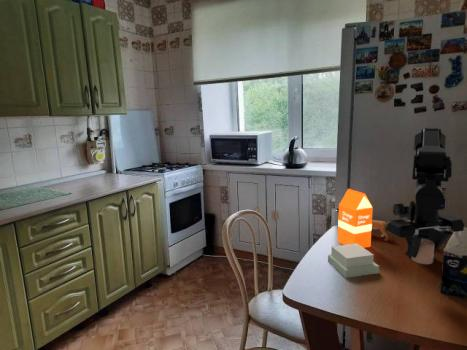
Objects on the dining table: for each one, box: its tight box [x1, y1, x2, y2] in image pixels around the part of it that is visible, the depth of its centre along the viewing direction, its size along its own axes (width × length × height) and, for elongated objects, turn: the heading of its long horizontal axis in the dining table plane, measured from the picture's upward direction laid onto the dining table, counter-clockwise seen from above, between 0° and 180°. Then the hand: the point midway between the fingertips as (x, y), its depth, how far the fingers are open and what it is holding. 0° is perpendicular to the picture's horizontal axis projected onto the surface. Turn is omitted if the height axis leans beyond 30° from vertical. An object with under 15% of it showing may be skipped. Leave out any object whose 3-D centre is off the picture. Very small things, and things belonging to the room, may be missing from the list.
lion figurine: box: [372, 218, 395, 242], centre depth 129 cm, size 15×5×9 cm, turn 52°
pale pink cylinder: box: [411, 239, 435, 265], centre depth 89 cm, size 5×5×5 cm
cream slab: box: [330, 244, 375, 268], centre depth 105 cm, size 9×9×3 cm
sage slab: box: [327, 254, 380, 279], centre depth 106 cm, size 11×11×3 cm
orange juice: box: [337, 188, 374, 249], centre depth 121 cm, size 8×9×20 cm
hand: (422, 256), depth 89 cm, fingers closed on pale pink cylinder, 5 cm apart
